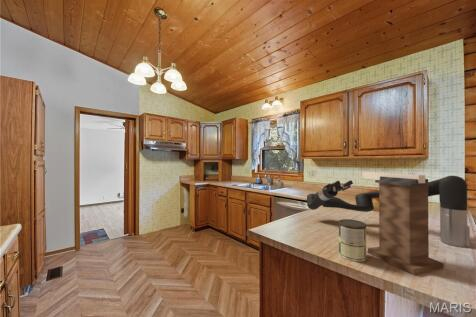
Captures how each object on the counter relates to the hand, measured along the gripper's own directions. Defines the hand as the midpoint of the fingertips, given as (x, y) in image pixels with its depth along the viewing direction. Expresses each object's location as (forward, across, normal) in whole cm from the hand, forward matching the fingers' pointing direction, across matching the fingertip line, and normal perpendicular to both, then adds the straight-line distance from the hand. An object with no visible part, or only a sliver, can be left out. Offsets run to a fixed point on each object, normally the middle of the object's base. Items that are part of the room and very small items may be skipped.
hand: (345, 182), depth 111 cm
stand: (+11, 0, -40) cm, 41 cm away
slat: (+23, 0, -9) cm, 24 cm away
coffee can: (+4, +17, -36) cm, 39 cm away
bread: (-52, -76, -4) cm, 92 cm away
